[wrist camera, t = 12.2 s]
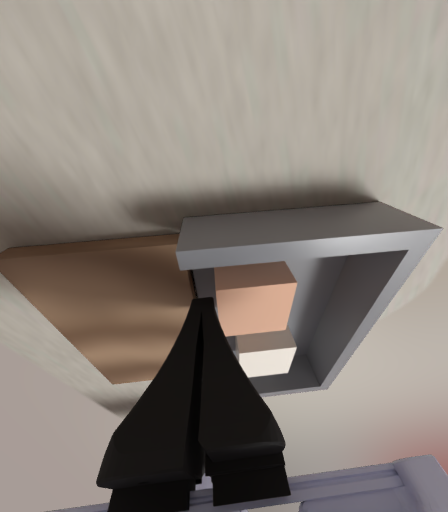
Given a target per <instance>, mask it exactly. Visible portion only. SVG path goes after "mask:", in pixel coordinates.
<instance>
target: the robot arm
mask: <svg viewBox="0 0 448 512" xmlns="http://www.w3.org/2000/svg"><path fill="white" fill-rule="evenodd" d="M284 448H285V440H284V437H283V435H282V432H281V430H280V428H279V426H278V424H277V422H276V420H275V418H274V416H273V414H272V412H271V410H270V409H269V408H268V406H267V405H266V403H265V402H264V401H263V399H262V398H261V396H260V395H259V393H258V392H257V390H256V389H255V387H254V386H253V384H252V383H251V381H250V380H249V378H248V377H247V375H246V373H245V372H244V370H243V368H242V367H241V365H240V363H239V362H238V360H237V358H236V356H235V355H234V353H233V351H232V349H231V347H230V345H229V343H228V341H227V339H226V336H225V334H224V332H223V330H222V327H221V325H220V322H219V319H218V316H217V313H216V310H215V306H214V298H213V297H206V298H196V299H192V301H191V305H190V308H189V311H188V314H187V316H186V319H185V321H184V324H183V326H182V328H181V331H180V333H179V335H178V337H177V339H176V341H175V343H174V345H173V347H172V349H171V351H170V353H169V354H168V356H167V358H166V360H165V361H164V363H163V365H162V366H161V368H160V370H159V371H158V373H157V374H156V376H155V377H154V379H153V381H152V382H151V383H150V385H149V386H148V388H147V389H146V391H145V392H144V393H143V395H142V396H141V398H140V399H139V400H138V402H137V403H136V405H135V406H134V407H133V409H132V410H131V411H130V412H129V414H128V415H127V416H126V418H125V419H124V420H123V421H122V423H121V424H120V425H119V427H118V428H117V429H116V430H115V432H114V433H113V435H112V437H111V440H110V442H109V445H108V447H107V450H106V452H105V455H104V458H103V461H102V464H101V468H100V471H99V474H98V477H97V481H96V484H97V486H98V487H102V488H108V489H113V491H112V495H111V499H110V503H103V504H96V505H89V506H82V507H75V508H68V509H60V510H54V511H46V512H248V511H247V509H254V508H260V507H266V506H273V505H281V504H287V503H294V502H301V501H303V502H301V504H300V506H299V512H448V475H447V474H446V473H445V471H444V470H443V468H442V467H441V466H440V464H439V463H438V461H437V460H436V458H435V457H434V456H432V455H423V456H415V457H409V458H403V459H399V460H395V461H393V463H386V464H378V465H371V466H365V467H358V468H351V469H343V470H337V471H329V472H322V473H315V474H308V475H301V476H294V477H287V475H286V471H285V461H284V457H283V453H282V451H283V450H284Z"/></svg>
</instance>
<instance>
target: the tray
mask: <svg viewBox="0 0 448 512" xmlns="http://www.w3.org/2000/svg"><path fill="white" fill-rule="evenodd" d="M442 230H443V228H442V227H439V226H437V225H434V224H432V223H430V222H427V221H425V220H423V219H420V218H418V217H415V216H413V215H411V214H408V213H406V212H404V211H401V210H399V209H396V208H394V207H392V206H389V205H387V204H385V203H382V202H371V203H358V204H346V205H333V206H321V207H308V208H296V209H283V210H271V211H259V212H246V213H234V214H221V215H209V216H196V217H184V218H183V222H182V227H181V231H180V235H179V239H178V243H177V247H176V256H177V260H178V264H179V268H180V271H181V270H193V275H194V280H195V285H196V290H197V295H198V298H206V297H213V298H214V306H215V310H216V313H217V316H218V308H217V299H216V289H215V273H214V267H224V266H235V265H246V264H257V263H268V262H279V261H285V262H286V264H287V266H288V267H289V269H290V271H291V272H292V274H293V276H294V277H295V279H296V281H297V287H296V291H295V295H294V299H293V303H292V307H291V311H290V315H289V318H288V322H287V325H288V327H289V329H290V332H291V334H292V337H293V339H294V341H295V344H296V346H297V348H296V351H295V354H294V357H293V360H292V363H291V366H290V368H289V371H288V373H282V374H274V375H265V376H257V377H248V378H249V380H250V381H251V383H252V384H253V386H254V387H255V389H256V390H257V392H258V393H259V395H260V396H261V397H267V396H276V395H284V394H292V393H301V392H309V391H317V390H325V389H328V388H329V386H330V385H331V384H332V382H333V381H334V380H335V378H336V377H337V375H338V374H339V373H340V371H341V370H342V368H343V367H344V366H345V364H346V363H347V361H348V360H349V359H350V357H351V356H352V355H353V353H354V351H355V350H356V349H357V348H358V346H359V345H360V343H361V342H362V341H363V339H364V338H365V337H366V335H367V334H368V332H369V331H370V329H371V328H372V327H373V325H374V324H375V323H376V321H377V320H378V318H379V317H380V316H381V314H382V313H383V312H384V310H385V309H386V307H387V306H388V305H389V303H390V302H391V300H392V299H393V298H394V296H395V295H396V294H397V292H398V291H399V289H400V288H401V287H402V285H403V284H404V282H405V281H406V280H407V278H408V277H409V276H410V274H411V273H412V271H413V270H414V269H415V267H416V266H417V264H418V263H419V262H420V260H421V259H422V257H423V256H424V255H425V253H426V252H427V251H428V249H429V248H430V246H431V245H432V244H433V242H434V241H435V239H436V238H437V237H438V235H439V234H440V233H441V231H442ZM218 319H219V317H218ZM226 339H227V341H228V343H229V345H230V347H231V349H232V351H233V353H234V355H235V356H236V347H235V336H226Z"/></svg>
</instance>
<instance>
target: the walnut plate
mask: <svg viewBox="0 0 448 512" xmlns="http://www.w3.org/2000/svg"><path fill="white" fill-rule="evenodd" d="M179 235H180V234H171V235H159V236H147V237H135V238H123V239H111V240H99V241H87V242H75V243H64V244H52V245H40V246H28V247H16V248H8V249H6V250H5V251H3V252H2V253H0V272H1V273H2V274H3V275H4V276H5V277H6V278H7V279H8V280H9V281H10V282H11V283H12V284H13V285H14V286H15V287H16V288H17V289H18V290H19V291H20V292H21V293H22V294H23V295H24V296H25V297H26V298H27V299H28V300H29V301H30V302H31V303H32V304H33V305H34V306H35V307H36V308H37V309H38V310H39V311H40V312H41V313H42V314H43V315H44V316H45V317H46V318H47V319H48V320H49V321H50V322H51V323H52V324H53V325H54V326H55V327H56V328H57V329H58V330H59V331H60V332H61V333H62V334H63V335H64V336H65V337H66V338H67V339H68V340H69V341H70V342H71V343H72V344H73V345H74V346H75V347H76V348H77V349H78V350H79V351H80V352H81V353H82V354H83V355H84V356H85V357H86V358H87V359H88V360H89V361H90V362H91V363H92V364H93V365H94V366H95V367H96V368H97V369H98V370H99V371H100V372H101V373H102V374H103V375H104V376H105V377H106V378H107V379H108V380H109V381H110V382H111V383H112V384H121V383H130V382H138V381H147V380H153V379H154V377H155V376H156V374H157V373H158V371H159V370H160V368H161V366H162V365H163V363H164V361H165V360H166V358H167V356H168V354H169V353H170V351H171V349H172V347H173V345H174V343H175V341H176V339H177V337H178V335H179V333H180V331H181V328H182V326H183V324H184V321H185V319H186V316H187V314H188V311H189V308H190V305H191V301H192V299H196V294H195V289H194V284H193V279H192V274H191V270H181V271H180V268H179V264H178V260H177V256H176V247H177V243H178V239H179Z"/></svg>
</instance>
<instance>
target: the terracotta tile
mask: <svg viewBox="0 0 448 512" xmlns="http://www.w3.org/2000/svg"><path fill="white" fill-rule="evenodd" d="M214 273H215V289H216V299H217V308H218V317H219V322H220V325H221V327H222V330H223V332H224V334H225V336H235V335H245V334H254V333H263V332H272V331H281V330H286V326H287V322H288V318H289V315H290V311H291V307H292V303H293V299H294V295H295V291H296V287H297V281H296V279H295V277H294V276H293V274H292V272H291V271H290V269H289V267H288V266H287V264H286V262H285V261H279V262H268V263H257V264H246V265H235V266H224V267H214Z"/></svg>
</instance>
